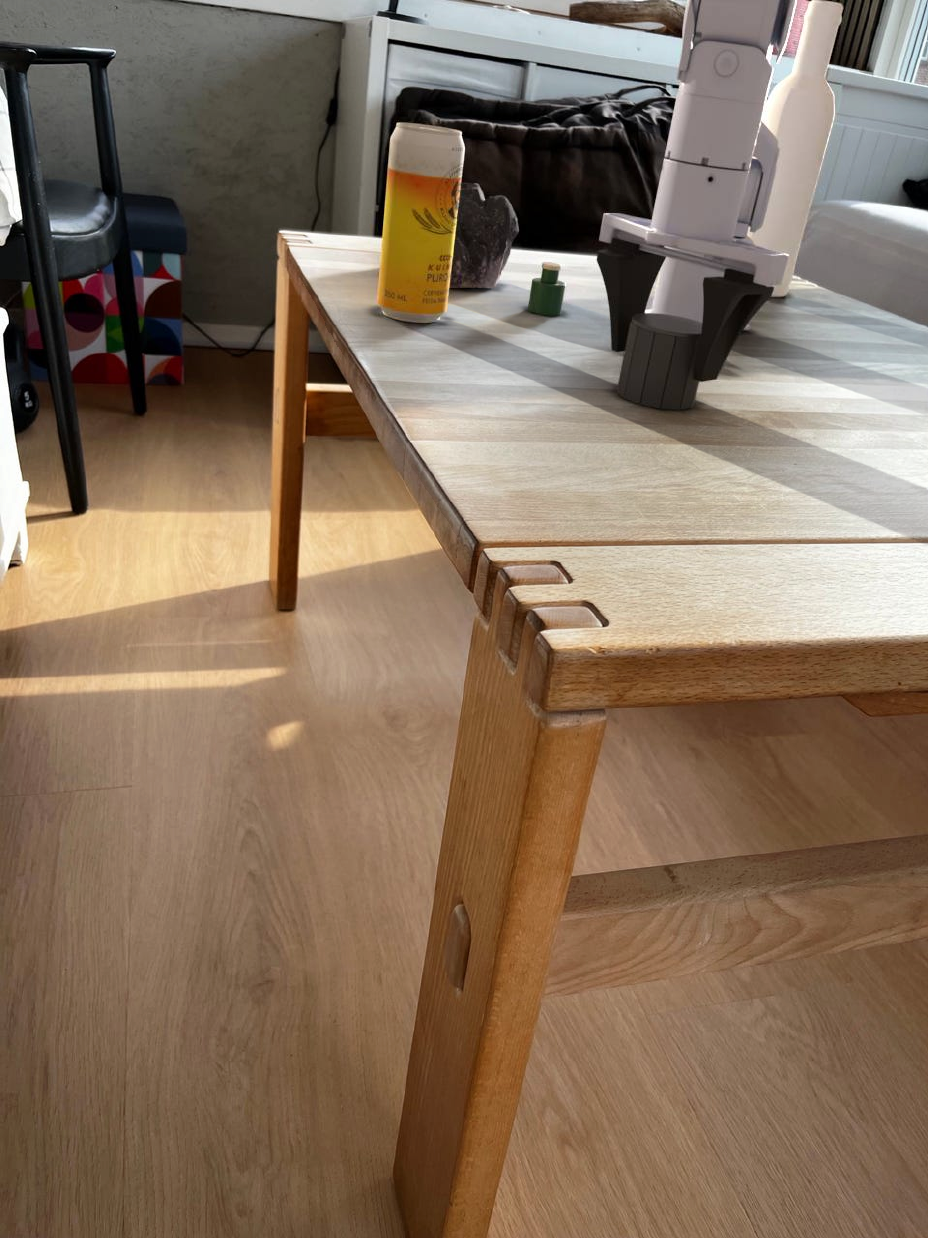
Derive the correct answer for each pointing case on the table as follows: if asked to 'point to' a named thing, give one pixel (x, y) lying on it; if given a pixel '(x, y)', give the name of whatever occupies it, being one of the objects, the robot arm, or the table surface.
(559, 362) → the table surface
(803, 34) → the bottle
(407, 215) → the beer can
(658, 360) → the dark grey grooved cylinder
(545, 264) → the bottle
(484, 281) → the crystal cluster
